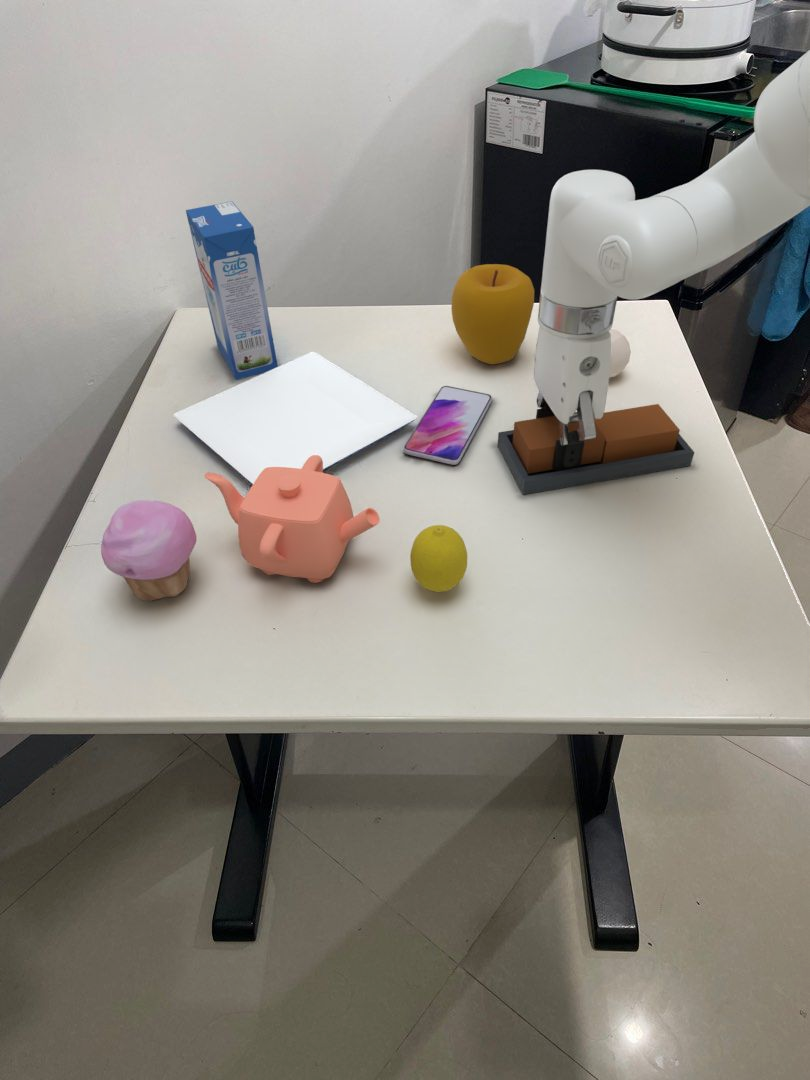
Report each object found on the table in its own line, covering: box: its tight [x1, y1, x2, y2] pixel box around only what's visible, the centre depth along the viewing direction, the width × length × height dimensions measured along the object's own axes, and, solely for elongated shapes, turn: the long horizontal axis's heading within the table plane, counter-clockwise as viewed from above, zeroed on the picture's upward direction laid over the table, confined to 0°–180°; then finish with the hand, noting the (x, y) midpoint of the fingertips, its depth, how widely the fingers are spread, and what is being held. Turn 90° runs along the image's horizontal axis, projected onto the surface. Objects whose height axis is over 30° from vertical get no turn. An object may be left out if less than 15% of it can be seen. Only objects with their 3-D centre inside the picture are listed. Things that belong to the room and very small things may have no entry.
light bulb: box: [609, 328, 632, 378], centre depth 100 cm, size 7×7×11 cm
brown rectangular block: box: [594, 403, 681, 464], centre depth 87 cm, size 6×9×4 cm, turn 102°
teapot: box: [203, 455, 380, 584], centre depth 74 cm, size 14×12×10 cm
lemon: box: [409, 524, 468, 593], centre depth 71 cm, size 6×6×8 cm
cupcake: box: [100, 499, 197, 602], centre depth 72 cm, size 9×9×10 cm
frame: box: [497, 429, 695, 496], centre depth 87 cm, size 10×21×2 cm, turn 102°
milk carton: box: [185, 201, 279, 381], centre depth 100 cm, size 10×6×20 cm, turn 25°
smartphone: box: [402, 385, 493, 466], centre depth 93 cm, size 7×1×15 cm
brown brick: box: [512, 411, 606, 474], centre depth 85 cm, size 6×9×4 cm, turn 102°
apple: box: [451, 263, 535, 365], centre depth 100 cm, size 11×11×13 cm
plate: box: [173, 351, 418, 485], centre depth 93 cm, size 22×22×2 cm
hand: (556, 450), depth 86 cm, fingers closed on brown brick, 5 cm apart
